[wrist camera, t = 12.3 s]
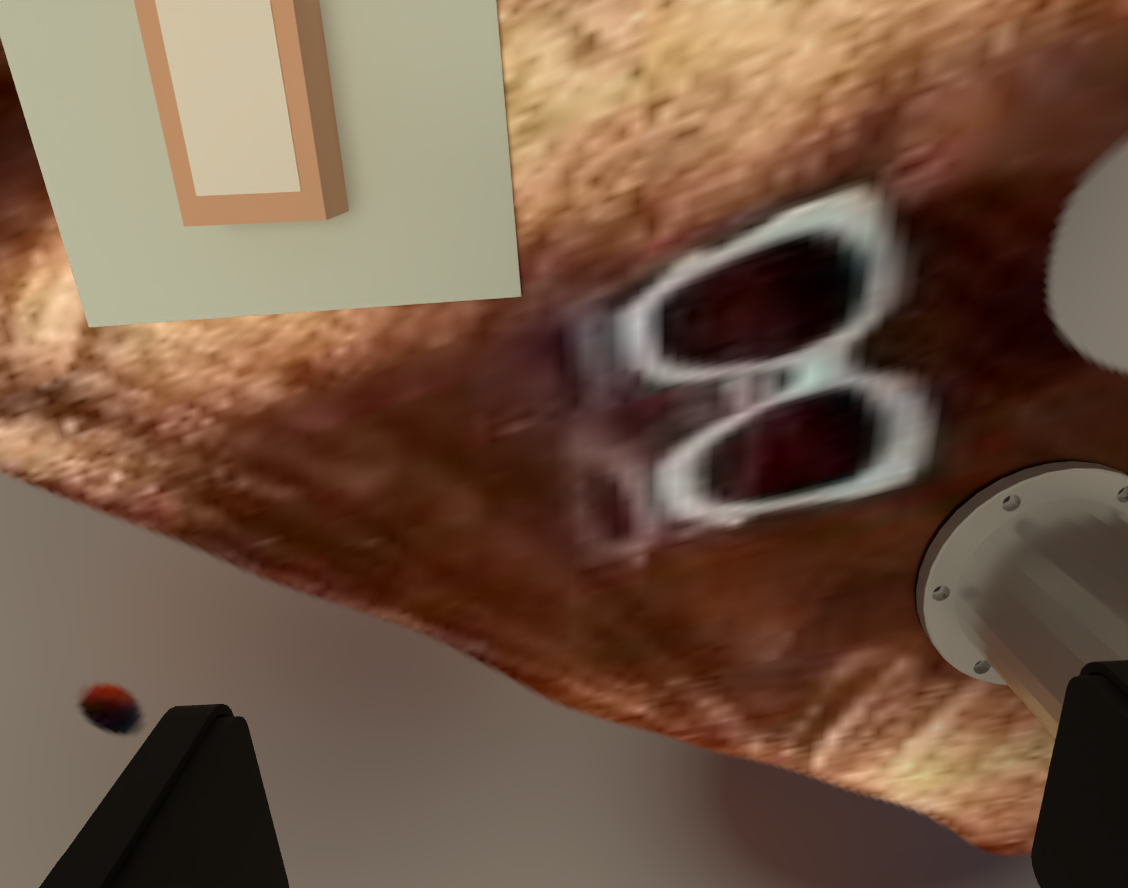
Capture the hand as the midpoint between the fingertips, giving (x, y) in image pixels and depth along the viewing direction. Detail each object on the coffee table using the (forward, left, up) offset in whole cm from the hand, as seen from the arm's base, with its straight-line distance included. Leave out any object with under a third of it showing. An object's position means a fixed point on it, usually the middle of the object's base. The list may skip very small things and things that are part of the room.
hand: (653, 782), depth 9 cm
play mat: (+11, -9, -26) cm, 29 cm away
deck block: (+11, -9, -25) cm, 29 cm away
